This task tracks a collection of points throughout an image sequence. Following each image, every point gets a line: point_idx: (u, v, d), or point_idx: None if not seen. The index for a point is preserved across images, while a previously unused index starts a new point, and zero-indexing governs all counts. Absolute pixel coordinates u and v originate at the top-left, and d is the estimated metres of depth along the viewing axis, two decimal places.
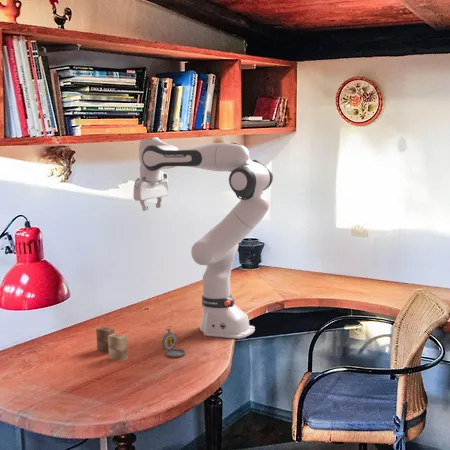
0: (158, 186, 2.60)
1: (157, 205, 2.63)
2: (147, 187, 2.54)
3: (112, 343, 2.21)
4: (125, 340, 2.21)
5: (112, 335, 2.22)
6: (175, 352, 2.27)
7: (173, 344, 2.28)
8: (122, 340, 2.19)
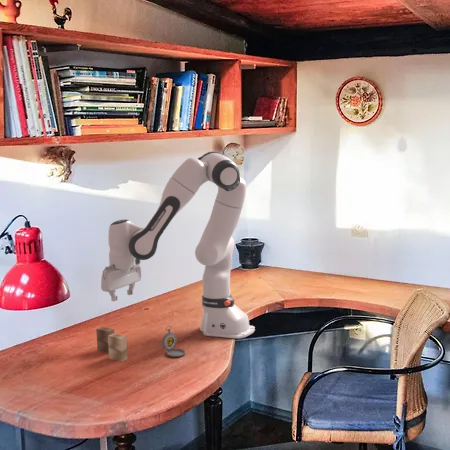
0: (129, 272, 2.37)
1: (128, 292, 2.40)
2: (117, 276, 2.31)
3: (112, 343, 2.21)
4: (125, 340, 2.21)
5: (112, 335, 2.22)
6: (175, 352, 2.27)
7: (173, 344, 2.28)
8: (122, 340, 2.19)
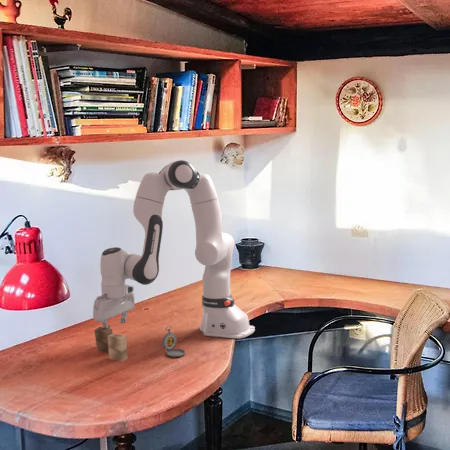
0: (122, 301, 2.35)
1: (121, 320, 2.38)
2: (109, 305, 2.29)
3: (112, 343, 2.21)
4: (125, 340, 2.21)
5: (112, 335, 2.22)
6: (175, 352, 2.27)
7: (173, 344, 2.28)
8: (122, 340, 2.19)
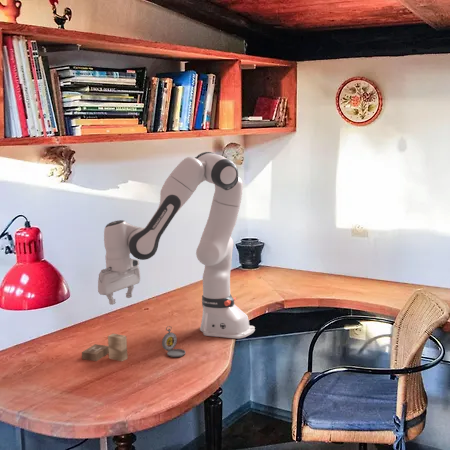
0: (127, 274, 2.31)
1: (127, 295, 2.34)
2: (114, 278, 2.25)
3: (112, 343, 2.21)
4: (125, 340, 2.21)
5: (112, 335, 2.22)
6: (175, 352, 2.27)
7: (173, 344, 2.28)
8: (122, 340, 2.19)
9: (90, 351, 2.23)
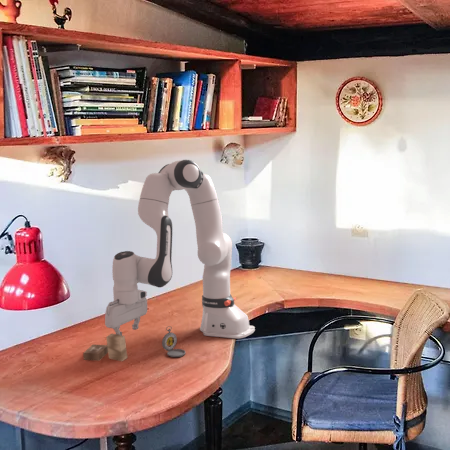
0: (135, 306, 2.27)
1: (134, 327, 2.30)
2: (121, 311, 2.21)
3: (111, 344, 2.20)
4: (124, 340, 2.20)
5: (110, 335, 2.21)
6: (175, 352, 2.27)
7: (173, 344, 2.28)
8: (121, 341, 2.19)
9: (92, 351, 2.23)
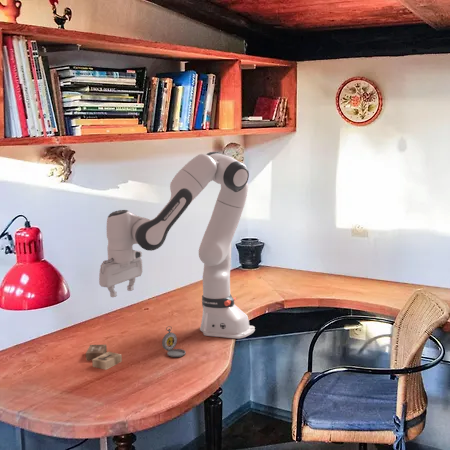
0: (129, 267, 2.23)
1: (129, 288, 2.26)
2: (116, 270, 2.16)
3: None
4: (108, 362, 2.14)
5: (94, 364, 2.15)
6: (175, 352, 2.27)
7: (173, 344, 2.28)
8: (108, 367, 2.13)
9: (93, 351, 2.23)
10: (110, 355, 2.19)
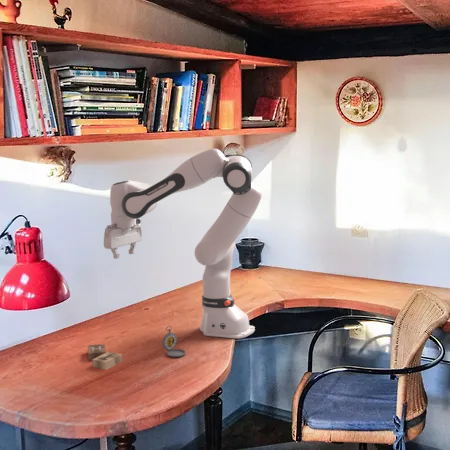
0: (131, 232, 2.48)
1: (130, 251, 2.51)
2: (118, 234, 2.42)
3: None
4: (108, 362, 2.14)
5: (95, 364, 2.15)
6: (175, 352, 2.27)
7: (173, 344, 2.28)
8: (108, 367, 2.13)
9: (95, 351, 2.23)
10: (110, 355, 2.19)
